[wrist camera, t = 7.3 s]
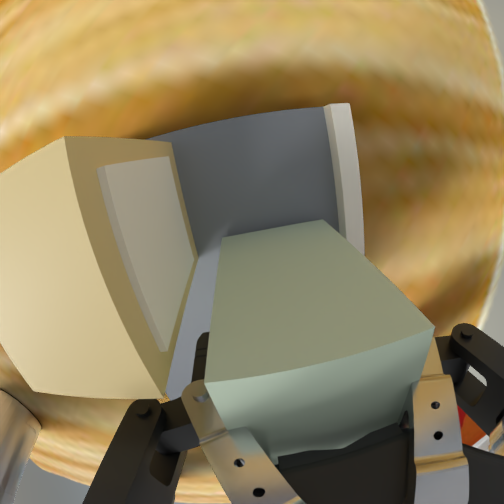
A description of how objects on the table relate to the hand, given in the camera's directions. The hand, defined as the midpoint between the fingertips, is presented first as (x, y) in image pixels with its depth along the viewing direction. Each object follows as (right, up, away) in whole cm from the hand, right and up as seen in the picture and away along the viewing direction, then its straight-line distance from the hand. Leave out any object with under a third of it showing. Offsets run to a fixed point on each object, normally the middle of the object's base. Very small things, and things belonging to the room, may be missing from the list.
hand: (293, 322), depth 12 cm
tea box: (0, +1, +3) cm, 3 cm away
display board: (-3, +1, +5) cm, 6 cm away
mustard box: (-8, +5, +1) cm, 9 cm away
